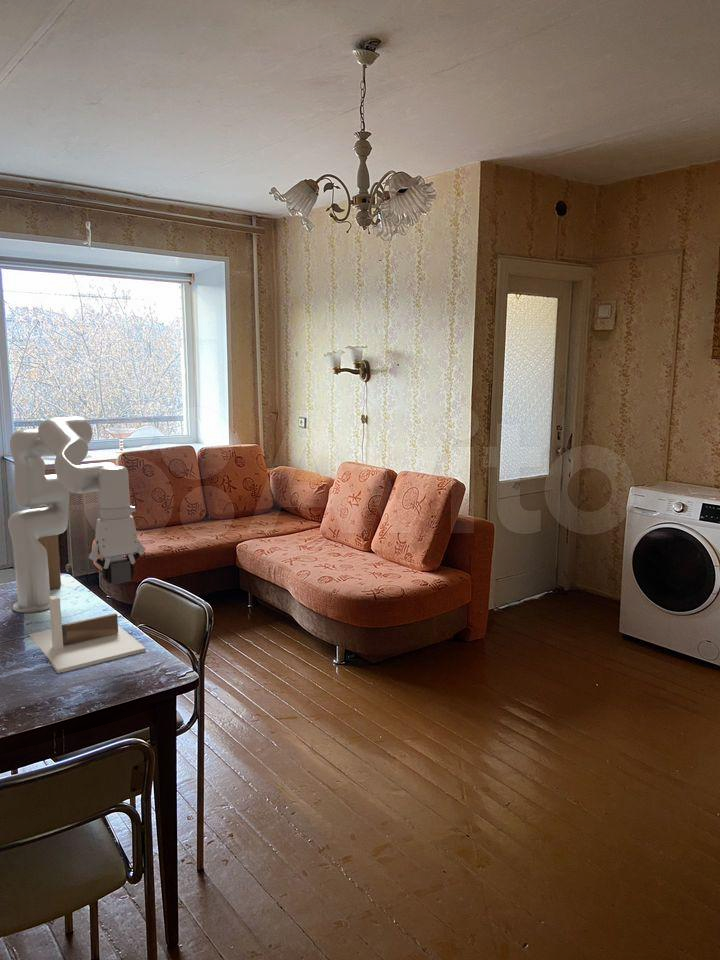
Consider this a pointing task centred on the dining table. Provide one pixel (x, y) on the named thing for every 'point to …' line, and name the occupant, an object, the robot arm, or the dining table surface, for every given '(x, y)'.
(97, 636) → the wooden slat
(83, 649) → the cream base with post
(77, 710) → the dining table surface
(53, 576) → the wooden block
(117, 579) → the block
